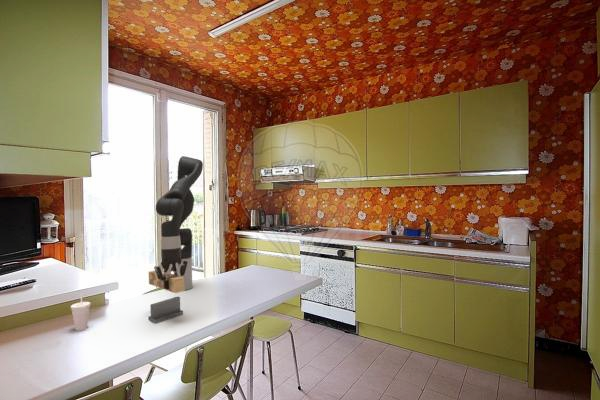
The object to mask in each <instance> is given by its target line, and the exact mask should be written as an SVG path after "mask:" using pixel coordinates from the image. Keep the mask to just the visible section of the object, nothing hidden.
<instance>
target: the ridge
mask: <svg viewBox="0 0 600 400" xmlns="http://www.w3.org/2000/svg"><path fill="white" fill-rule="evenodd" d="M183 314H184V313H183V310H182V309H181V297H180V296H175V297H172V298H168V299H164V300H161V301H158V302H155V303H150V315H149V316H148V317H147V318H148V321H149V322H151V323H154V324H155V325H156V324H159V323H162V322H165V321H168V320H170V319H173V318H174V319H175V318H176V317H179V316H182V315H183Z"/></svg>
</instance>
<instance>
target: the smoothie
mask: <svg viewBox="0 0 600 400" xmlns="http://www.w3.org/2000/svg"><path fill="white" fill-rule="evenodd" d="M79 294H80V297H79V298H80V301H79V302H77V303H76V302H75V303H73V304H72V305H71V304H70V310H71V313H72V319H73V323H74V328H75V331H76V332H81V331H84V330H86V329H88V323H89V316H90V315H89V313H90V307H91V302H90V301H83V293H79Z"/></svg>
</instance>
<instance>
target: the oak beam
mask: <svg viewBox="0 0 600 400" xmlns="http://www.w3.org/2000/svg"><path fill="white" fill-rule="evenodd" d="M163 271H164V270H161V272H162V274H163ZM168 281H169V289H168V290H166V289H165V288H164V287H163V280H159V279H158V277H157V274H156V272H155V269H153V270H148V284H149V285H151V286H153V287H157V288H160V289H163V290H165V291H168V292H170V293H174V294H178V293H180V292H185V291H186V290H185V285H184V277H181V276H178V275H174V273H171V272H170V275H169V278H168Z"/></svg>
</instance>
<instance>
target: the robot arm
mask: <svg viewBox="0 0 600 400" xmlns="http://www.w3.org/2000/svg"><path fill="white" fill-rule="evenodd" d="M177 164H178V165H177V180H176V181H174V183H173V184H172V185H171V186H170V189H169V190H168V191H167V192H166V193H165V194H163V195H162V196H161V197H160V198H158V200H157V201H156V204H155V211H156V213H157V214H158V215H159V216H163V217H165V216H170V217H171V216H172V218H171V220H169V221H168V220H167V221H163V222H162V223H161V225H160V227H161V228H160V229H161V230H160V231H161V233H160V234H161V236H160V237H161V240H160V250H161V251H160V252H161V253H160V254H161V255H160V256H161V257H160V258H161V262H160V264H159V265H155V266H154V267H153V270H155V272H156V274H157V277H158V279H159V280H163V287H164V288H165V289H166V290H165V289H164V290H165V291H168V289H169V281H168V278H169V275H170V273H171V272H173V274H174V275H178V276H181V277H184V285H185V291H189V290H191V289H192V288H193V262H192V261H193V260H192V259H193V258H192V255H193V250H192V249H193V245H192V244H193V232H192V229H191V228H188V227H187V228H181V227H182V225H183V223H184V222H185V221H186V220H187V219H188V218H189V216H191V215H192V213H193V211H194V205H195V197H194V195H193V193H192V191H191V187H192V186H193V185H194V184H195V183H196V181H197V180H198V179H199V177H200V176H201V174H202V171H203V167H204V163H203V161H202V160H201V159H197V158H193V157H189V156H186V155H185V156H184V155H183V156H180V158H179V160H178V163H177ZM182 246H183V247H182ZM161 271H163V274H162V272H161Z"/></svg>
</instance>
